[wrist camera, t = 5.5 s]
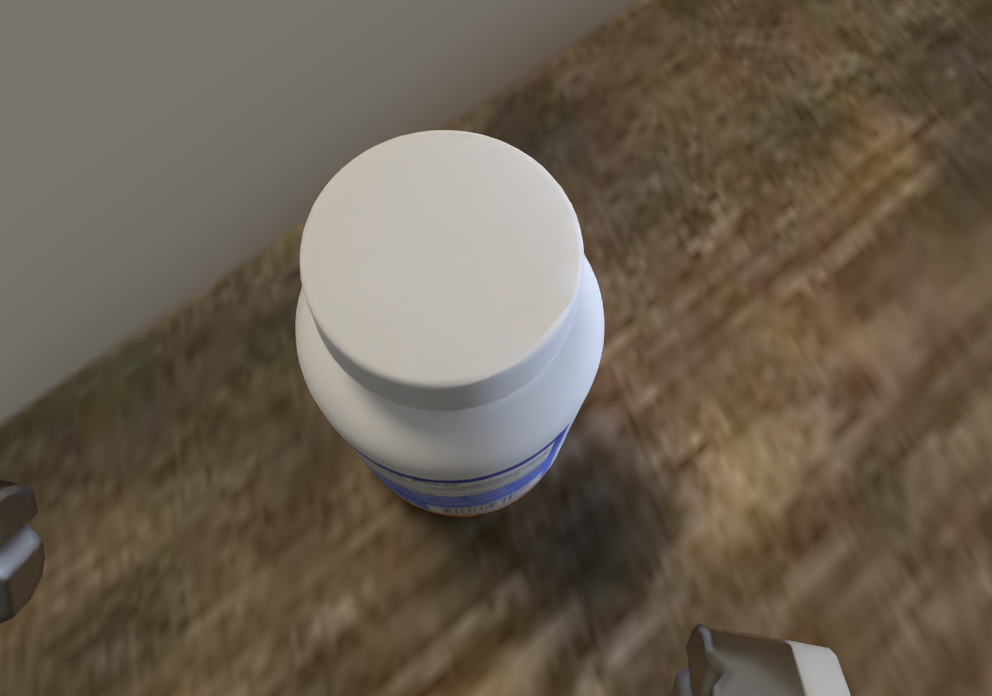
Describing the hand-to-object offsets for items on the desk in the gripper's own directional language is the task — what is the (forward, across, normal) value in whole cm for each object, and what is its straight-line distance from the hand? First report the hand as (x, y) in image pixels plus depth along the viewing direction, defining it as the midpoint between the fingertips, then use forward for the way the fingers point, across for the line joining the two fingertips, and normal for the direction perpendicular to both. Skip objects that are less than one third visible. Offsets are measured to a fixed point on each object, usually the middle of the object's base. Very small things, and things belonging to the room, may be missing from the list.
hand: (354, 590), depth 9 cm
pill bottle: (+10, 0, +4) cm, 11 cm away
